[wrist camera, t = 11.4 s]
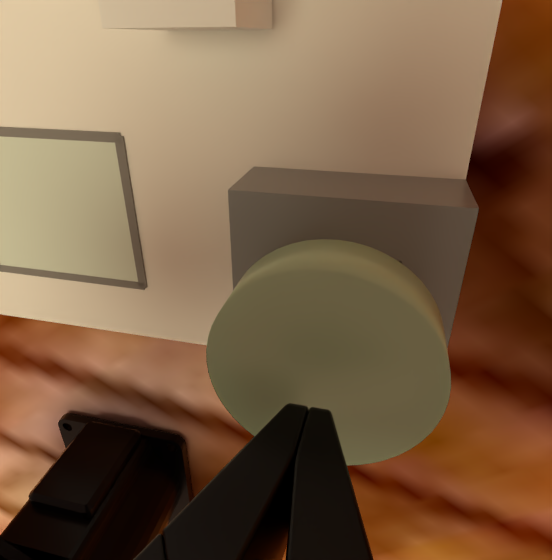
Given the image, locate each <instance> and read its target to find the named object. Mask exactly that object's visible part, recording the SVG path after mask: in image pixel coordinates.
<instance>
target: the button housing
mask: <svg viewBox="0 0 552 560" xmlns="http://www.w3.org/2000/svg"><path fill="white" fill-rule="evenodd" d="M228 203H229V222H230V241H231V260H232V279H233V290H234V288H235V287H236V285H237V284H238V282H239V281H240V279H241V278H242V277H243V275H244V274H245V273H246V271H247V270H248V269H249V268H250V267H251V266H253V265H254V264H255V263H256V262H257V261H258V260H260V259H261V258H263V257H264V256H265V255H267V254H269V253H271V252H273V251H274V250H276V249H278V248H281V247H284V246H287V245H289V244H292V243H297V242H302V241H306V240H317V239H333V240H343V241H349V242H355V243H358V244H362V245H365V246H369V247H371V248H374V249H376V250H378V251H381V252H383V253H385V254H387V255H389V256H390V257H392V258H394V259H396V260H397V261H399V262H400V263H401V264H403V265H404V266H406V267H407V268H408V269H410V270H411V271H412V272H413V273H414V274H415V275H416V276H417V277H418V278H419V279H420V280H421V281H422V283H423V284H424V285H425V286H426V288H427V289H428V290H429V292H430V293H431V295H432V297H433V299H434V300H435V302H436V304H437V306H438V309H439V312H440V314H441V317H442V322H443V327H444V332H445V339H446V346H447V348H448V343H449V339H450V335H451V330H452V326H453V321H454V317H455V313H456V308H457V304H458V299H459V295H460V290H461V286H462V282H463V277H464V273H465V268H466V264H467V259H468V255H469V251H470V246H471V242H472V237H473V233H474V229H475V224H476V220H477V215H478V211H479V207H478V205H477V203H476V201H475V199H474V196H473V194H472V192H471V190H470V188H469V186H468V184H467V181H466V180H464V179H448V178H432V177H416V176H400V175H383V174H367V173H351V172H335V171H319V170H303V169H287V168H271V167H255V166H254V167H253V168H252V169H251V170H249V171H248V172H247V173H246V174H245V175H244V176H243V177H242V178H240V179H239V180H238V181H237V182H236V183H235V184H234V185H233V186H232V187H230V188H229V189H228Z"/></svg>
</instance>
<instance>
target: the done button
mask: <svg viewBox="0 0 552 560" xmlns="http://www.w3.org/2000/svg"><path fill="white" fill-rule="evenodd" d="M206 357H207V366H208V372H209V376H210V379H211V382H212V385H213V387H214V389H215V391H216V393H217V395H218V397H219V399H220V400H221V402H222V403H223V405H224V407H225V408H226V409H227V410H228V412H229V413H230V414H231V415H232V417H233V418H234V419H235V420H236V421H237V422H238V423H239V424H240V425H241V426H243V427H244V428H245V429H246V430H247V431H249V432H250V433H251V434H252V435H254V436H255V435H256V434H257V433H258V432H259V431H260V430H261V429H262V428H263V427H264V426H265V425H266V424H267V423H268V422H269V421H270V420H271V419H272V418H273V417H274V416H275V415H276V414H277V413H278V412H279V411H280V410H281V409H282V408H283V407H284V406H285V405H286V404H288V403H293V404H299V405H305V406H307V407H308V409H310V408H311V407H317V408H322V409H328V410H330V411H331V413H332V416H333V419H334V423H335V426H336V430H337V433H338V437H339V440H340V444H341V447H342V451H343V454H344V458H345V461H346V465H362V464H369V463H375V462H379V461H383V460H387V459H389V458H392V457H395V456H398V455H400V454H402V453H404V452H406V451H408V450H410V449H411V448H413V447H414V446H416V445H417V444H419V443H420V442H421V441H422V440H424V439H425V438H426V437H427V436H428V435H429V434H430V433H431V432H432V431H433V429H434V428H435V427H436V426H437V424H438V423H439V421H440V420H441V418H442V416H443V414H444V412H445V410H446V407H447V404H448V401H449V396H450V390H451V372H450V365H449V359H448V352H447V346H446V339H445V332H444V327H443V322H442V317H441V314H440V312H439V309H438V306H437V304H436V302H435V300H434V299H433V297H432V295H431V293H430V292H429V290H428V289H427V288H426V286H425V285H424V284H423V283H422V281H421V280H420V279H419V278H418V277H417V276H416V275H415V274H414V273H413V272H412V271H411V270H410V269H408V268H407V267H406V266H404V265H403V264H401V263H400V262H399V261H397V260H396V259H394V258H392V257H390V256H389V255H387V254H385V253H383V252H381V251H378V250H376V249H374V248H371V247H369V246H365V245H362V244H358V243H355V242H349V241H343V240H333V239H317V240H306V241H302V242H297V243H292V244H289V245H287V246H284V247H281V248H278V249H276V250H274V251H273V252H271V253H269V254H267V255H265V256H264V257H263V258H261V259H260V260H258V261H257V262H256V263H255V264H254V265H253V266H251V267H250V268H249V269H248V270H247V271H246V273H245V274H244V275H243V277H242V278H241V279H240V281H239V282H238V284H237V285H236V287H235V288H234V290H233V291H232V293H231V295H230V296H229V298H228V299H227V301H226V302H225V304H224V305H223V307H222V308H221V310H220V311H219V313H218V314H217V316H216V318H215V320H214V322H213V324H212V326H211V329H210V333H209V336H208V341H207V348H206Z"/></svg>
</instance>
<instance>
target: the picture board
mask: <svg viewBox="0 0 552 560" xmlns="http://www.w3.org/2000/svg"><path fill="white" fill-rule="evenodd" d="M501 5H502V0H272V29H259V30H136V29H107V28H102V22H101V16H100V10H99V4H98V0H0V314H3V315H9V316H16V317H22V318H29V319H36V320H42V321H49V322H55V323H62V324H69V325H75V326H82V327H88V328H95V329H102V330H108V331H115V332H122V333H128V334H135V335H141V336H148V337H155V338H161V339H168V340H174V341H181V342H188V343H194V344H201V345H207V341H208V336H209V333H210V329H211V326H212V324H213V322H214V320H215V318H216V316H217V314H218V313H219V311H220V310H221V308H222V307H223V305H224V304H225V302H226V301H227V299H228V298H229V296H230V295H231V293H232V291H233V279H232V260H231V241H230V222H229V203H228V189H229V188H230V187H232V186H233V185H234V184H235V183H236V182H237V181H238V180H239V179H240V178H242V177H243V176H244V175H245V174H246V173H247V172H248V171H249V170H251V169H252V168H253V167H254V166H255V167H271V168H287V169H303V170H319V171H335V172H351V173H367V174H383V175H400V176H416V177H432V178H448V179H464V180H466V176H467V171H468V166H469V161H470V156H471V151H472V146H473V141H474V137H475V132H476V127H477V122H478V117H479V112H480V107H481V102H482V98H483V93H484V88H485V83H486V78H487V73H488V68H489V63H490V58H491V54H492V49H493V44H494V39H495V34H496V29H497V24H498V19H499V14H500V10H501Z"/></svg>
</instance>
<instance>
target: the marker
mask: <svg viewBox="0 0 552 560" xmlns="http://www.w3.org/2000/svg"><path fill="white" fill-rule="evenodd" d="M98 4H99V10H100V16H101V22H102V28H107V29H136V30H259V29H272V0H98Z"/></svg>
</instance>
